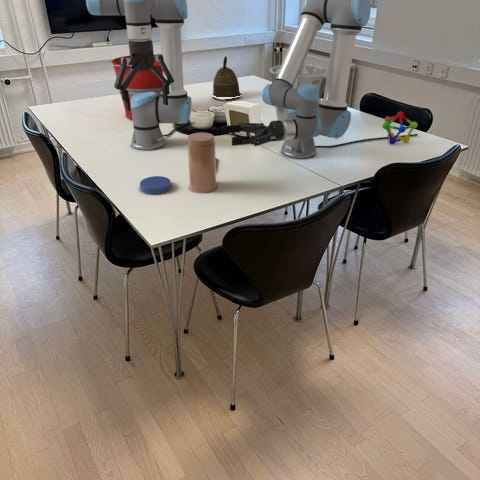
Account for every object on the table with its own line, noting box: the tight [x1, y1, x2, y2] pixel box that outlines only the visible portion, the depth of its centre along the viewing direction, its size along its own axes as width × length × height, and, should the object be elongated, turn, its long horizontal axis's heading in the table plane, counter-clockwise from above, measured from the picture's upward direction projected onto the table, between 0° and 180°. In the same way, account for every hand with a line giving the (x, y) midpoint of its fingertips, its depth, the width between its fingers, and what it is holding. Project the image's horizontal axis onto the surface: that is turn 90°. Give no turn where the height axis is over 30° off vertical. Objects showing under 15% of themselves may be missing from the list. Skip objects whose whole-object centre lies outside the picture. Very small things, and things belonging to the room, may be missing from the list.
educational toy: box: [382, 110, 418, 145], centre depth 207 cm, size 16×13×15 cm
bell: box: [212, 56, 242, 97], centre depth 278 cm, size 19×26×20 cm
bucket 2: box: [269, 63, 328, 121], centre depth 226 cm, size 30×30×28 cm
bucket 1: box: [108, 54, 164, 121], centre depth 240 cm, size 35×35×30 cm
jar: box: [186, 132, 217, 194], centre depth 163 cm, size 10×10×20 cm
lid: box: [139, 175, 172, 195], centre depth 167 cm, size 11×11×2 cm
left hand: (147, 107), depth 151 cm, fingers open, 13 cm apart
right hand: (226, 135), depth 160 cm, fingers open, 13 cm apart
